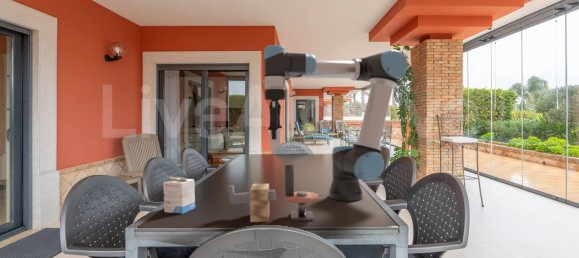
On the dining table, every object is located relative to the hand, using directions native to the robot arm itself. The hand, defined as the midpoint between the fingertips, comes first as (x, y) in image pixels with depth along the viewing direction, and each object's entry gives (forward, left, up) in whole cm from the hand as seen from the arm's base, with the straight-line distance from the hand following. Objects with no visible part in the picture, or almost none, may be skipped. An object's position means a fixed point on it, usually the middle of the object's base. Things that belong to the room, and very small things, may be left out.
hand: (275, 147), depth 119 cm
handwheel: (-9, +3, -18) cm, 21 cm away
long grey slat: (+8, +3, -19) cm, 21 cm away
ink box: (+38, -7, -25) cm, 46 cm away
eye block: (+6, +3, -25) cm, 26 cm away
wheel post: (-9, +3, -25) cm, 27 cm away
